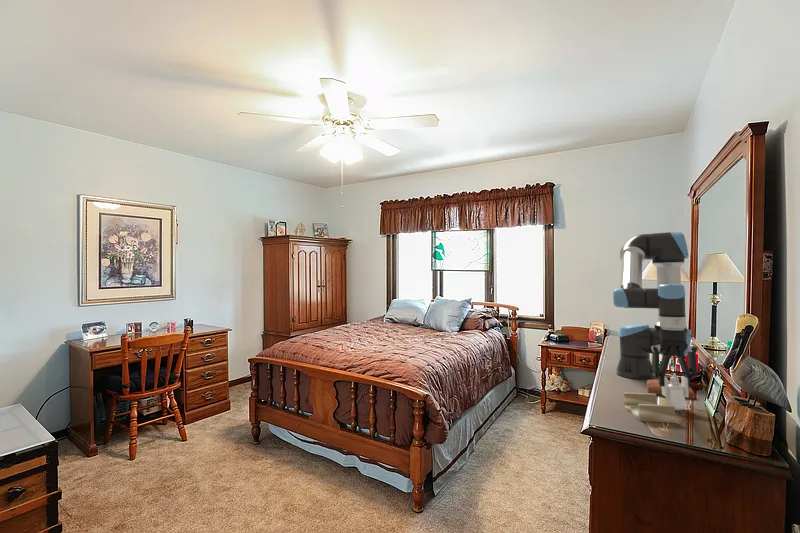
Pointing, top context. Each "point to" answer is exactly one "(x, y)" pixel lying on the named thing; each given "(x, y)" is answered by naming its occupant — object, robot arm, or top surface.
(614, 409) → the top surface
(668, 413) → the rack
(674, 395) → the eye dropper bottle
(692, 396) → the ceramic shard
